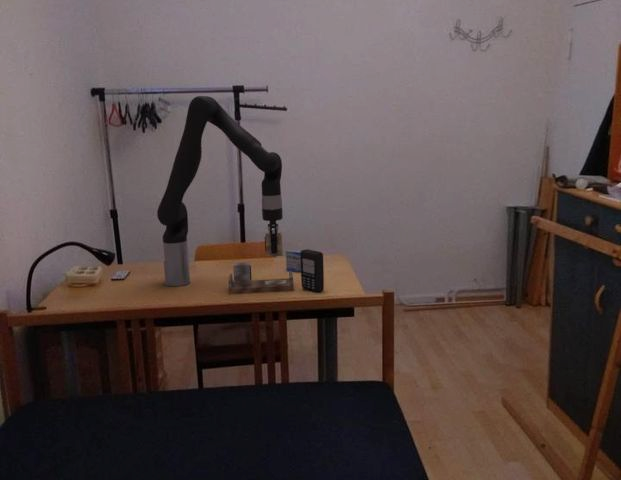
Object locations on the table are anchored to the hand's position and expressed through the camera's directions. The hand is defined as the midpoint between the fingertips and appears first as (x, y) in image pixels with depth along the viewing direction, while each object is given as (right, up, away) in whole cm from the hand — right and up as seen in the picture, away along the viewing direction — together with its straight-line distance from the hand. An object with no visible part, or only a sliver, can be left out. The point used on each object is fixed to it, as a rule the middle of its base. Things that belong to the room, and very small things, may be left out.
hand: (274, 251), depth 222 cm
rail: (-5, -14, +3) cm, 15 cm away
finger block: (0, -1, 0) cm, 1 cm away
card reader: (+14, -14, -1) cm, 21 cm away
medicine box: (+8, -9, +27) cm, 29 cm away
